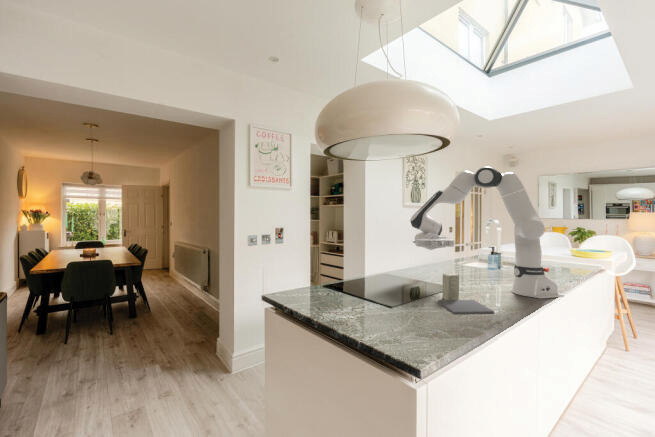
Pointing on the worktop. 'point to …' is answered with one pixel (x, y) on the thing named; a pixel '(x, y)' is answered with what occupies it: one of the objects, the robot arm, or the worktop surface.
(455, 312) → the mat
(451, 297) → the skincare box
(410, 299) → the worktop surface
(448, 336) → the worktop surface
